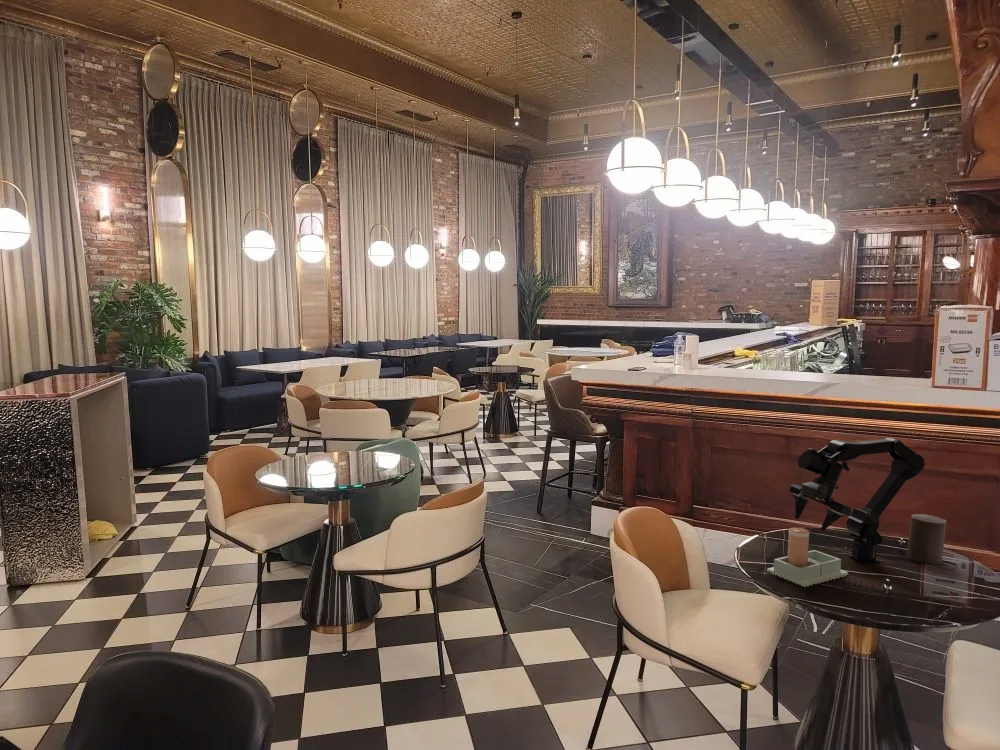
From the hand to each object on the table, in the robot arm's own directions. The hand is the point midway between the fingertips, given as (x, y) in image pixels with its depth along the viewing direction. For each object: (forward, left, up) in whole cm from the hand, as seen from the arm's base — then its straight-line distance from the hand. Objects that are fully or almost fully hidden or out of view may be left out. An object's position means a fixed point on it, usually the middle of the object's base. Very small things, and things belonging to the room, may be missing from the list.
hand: (809, 524), depth 217 cm
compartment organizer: (+7, +9, -12) cm, 17 cm away
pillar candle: (-40, +6, -12) cm, 42 cm away
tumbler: (+12, +10, -11) cm, 19 cm away
